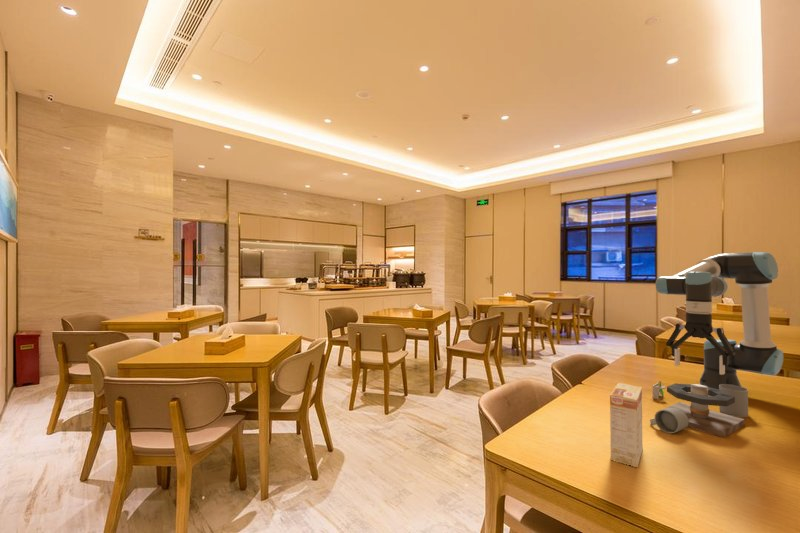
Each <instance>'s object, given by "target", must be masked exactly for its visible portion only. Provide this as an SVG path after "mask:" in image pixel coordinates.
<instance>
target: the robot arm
mask: <svg viewBox="0 0 800 533" xmlns="http://www.w3.org/2000/svg"><path fill="white" fill-rule="evenodd" d="M778 275H779V267H778V263H777V261H776V258H775V257H774V255H773V254H772V253H770V252H766V251H765V252H763V251H762V252H761V251H752V252H747V251H746V252H726V253H719V254H715V255H712V256H709V257H706V258H703V259H700V260H699V261H698V262H696V264H695V265H693V266H691V267H688V268H686V269H685V270H683V271H680V272H677V273H676V274H673V275H670V276H667V275H665V276H659V277H658V278H656V280H655V290H656V291H657V292H658V293H659V294H662V295H674V296H675V295H678V296H679V295H680V296H685V311H686V313H685V324H683V323H680V322H679V323H676V324H675V327H674V328H675V329H674V330H673V332H672V334H671V336H670V337H669V338H668V340H667V341H666V343H665V345H666V346H667V347H670V348H671V356H672V357H673V358H674V366H675V367H678V366H680V365H681V348H679V347H680V346H681V345H682V344H683V343H684V342H686V341H687V340H688V339H689V338H690V337H692V338H699V339H706V340H705V341H704V343H703V349H702V350H703V372H702V373H701V376H700V377H699V378H700V379H699V385H704V386H707V387H710V388H714V389H719V385H721V384H728V385H735V386H740V387H743V386H742V384H741V382H740V379H739V376H738V374H737V370H739V371H742V372H743V371H745V372H749V373H753V374H754V373H756V374H759V375H766V376H776V375H778V374H779V372H780V371H781V369H782V366H783V363H784V351H783V350H782V349H779V348H778V347H777V343H775V342H774V341H772V335H771V321H770V319H771V318H770V307H769V305H770V303H769V290H768V289H769V287H770V285H772V284H773V280H776V279H777V278H778ZM725 279H734V280H735V284H736V285H737V286H739V287H740V297H741V298H740V299H741V302H740V303H741V314H742V327H743V328H742V329H743V339H741V340H740V341H739V343H737V340H735V339H729V338H727V335H725V331H724V328H723V327H713V315H712V314H711V313H712V312H713V303H712V301H713V300H712V298H713V297H719V296H722V295H724V294H725V293H726V292H727V290H728V284H727V282H726V281H725ZM684 329H685V330H686V332H685V333H684V334H683V335H682V336H681V337H680V338H679V339H678V340H676V339H677V338H678V336H679V335H680V333H681V331H682V330H684ZM713 332H714V334H716V335H717V336H718V339H717V338H715V337H714V336H713V335H712V333H713ZM675 340H676V341H675ZM777 348H778V349H777Z"/></svg>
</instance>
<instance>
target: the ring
mask: <svg viewBox="0 0 800 533" xmlns="http://www.w3.org/2000/svg"><path fill="white" fill-rule="evenodd" d="M691 384H692V383H690V384H689V383H673V384H669V385H668V386H666V392H667V393H668V394H670V395H671V396H673V397H674V398H676V399H678V400H682V401H687V402H690V403H691V402H693V403H697V404H701V405H708V406H714V407H715V406H716V407H719V406H729V405H731V404H733V403H734V402H735V397H734V396H732V395H730V394H728V393H726V392H724V391H722V390H719V389H714V388H710V387H708V396H701V395H696V394H692V393H691Z"/></svg>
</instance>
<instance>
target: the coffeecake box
mask: <svg viewBox="0 0 800 533" xmlns="http://www.w3.org/2000/svg"><path fill="white" fill-rule="evenodd" d="M642 391H643V387H642V386H637V385H632V384H628V383H622V382H617V384H616V385H615V386H614V388H613V389H612V391H611V393H610V394H609V418H610V420H609V421H610V422H609V428H610V429H609V430H610V461H611V460H615V461H617V462H616V463H618V462H621V463H620V464H622V463H624V464H623V465H626V464H627V465H626V466H629V465H631V466H630V467H632V466H634V467H633V468H635V467H637V468H638V466H639V463H640V461H641V456H642V452H643V448H644V447H643V446H644V445H643V392H642ZM615 461H614V462H615Z"/></svg>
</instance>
